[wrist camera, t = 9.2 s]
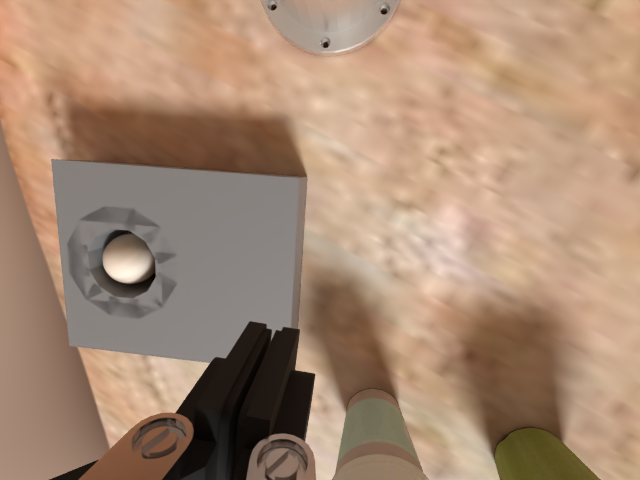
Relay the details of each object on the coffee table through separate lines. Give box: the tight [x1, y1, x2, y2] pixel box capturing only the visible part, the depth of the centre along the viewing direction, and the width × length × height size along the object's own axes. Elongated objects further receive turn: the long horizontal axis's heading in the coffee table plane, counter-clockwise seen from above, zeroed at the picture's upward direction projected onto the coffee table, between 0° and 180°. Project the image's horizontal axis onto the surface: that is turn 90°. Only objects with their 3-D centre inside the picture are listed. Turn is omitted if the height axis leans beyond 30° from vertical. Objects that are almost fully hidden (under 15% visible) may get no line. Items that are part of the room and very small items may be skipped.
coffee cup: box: [332, 389, 429, 480], centre depth 31 cm, size 8×8×12 cm
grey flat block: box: [51, 159, 307, 363], centre depth 33 cm, size 18×22×5 cm
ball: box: [102, 233, 156, 284], centre depth 33 cm, size 5×5×5 cm
